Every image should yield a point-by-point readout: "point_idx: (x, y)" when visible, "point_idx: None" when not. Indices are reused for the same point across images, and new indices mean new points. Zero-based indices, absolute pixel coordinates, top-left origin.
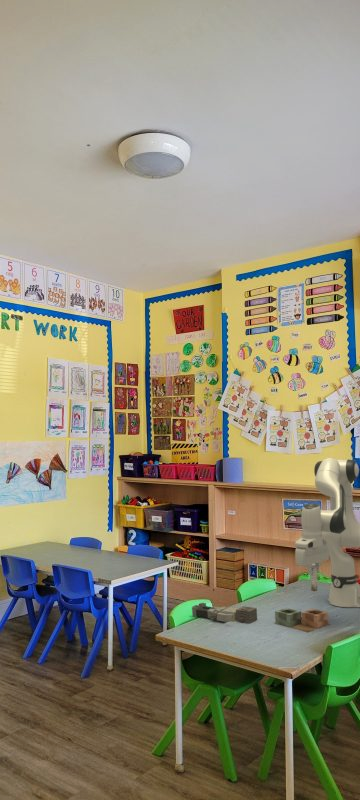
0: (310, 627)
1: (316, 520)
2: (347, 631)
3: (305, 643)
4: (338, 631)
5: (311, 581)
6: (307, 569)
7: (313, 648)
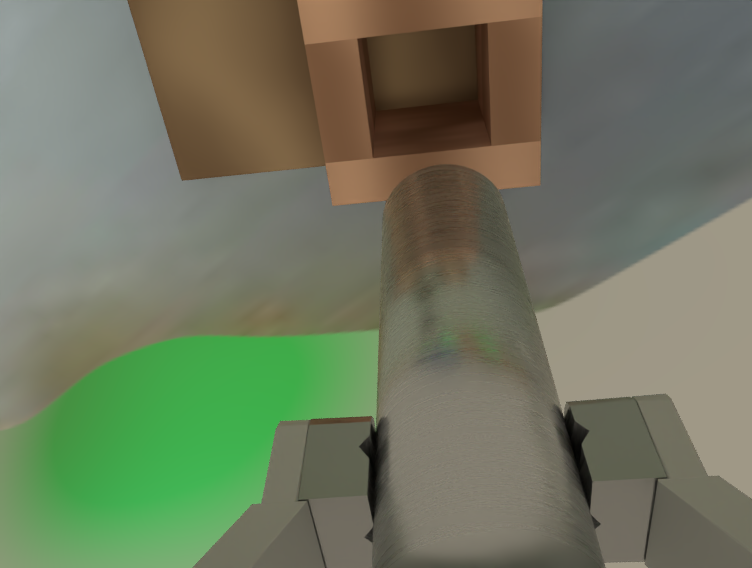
0: (301, 98)
1: None
2: (546, 270)
3: (64, 260)
4: None
5: (380, 320)
6: (233, 538)
7: (57, 346)
